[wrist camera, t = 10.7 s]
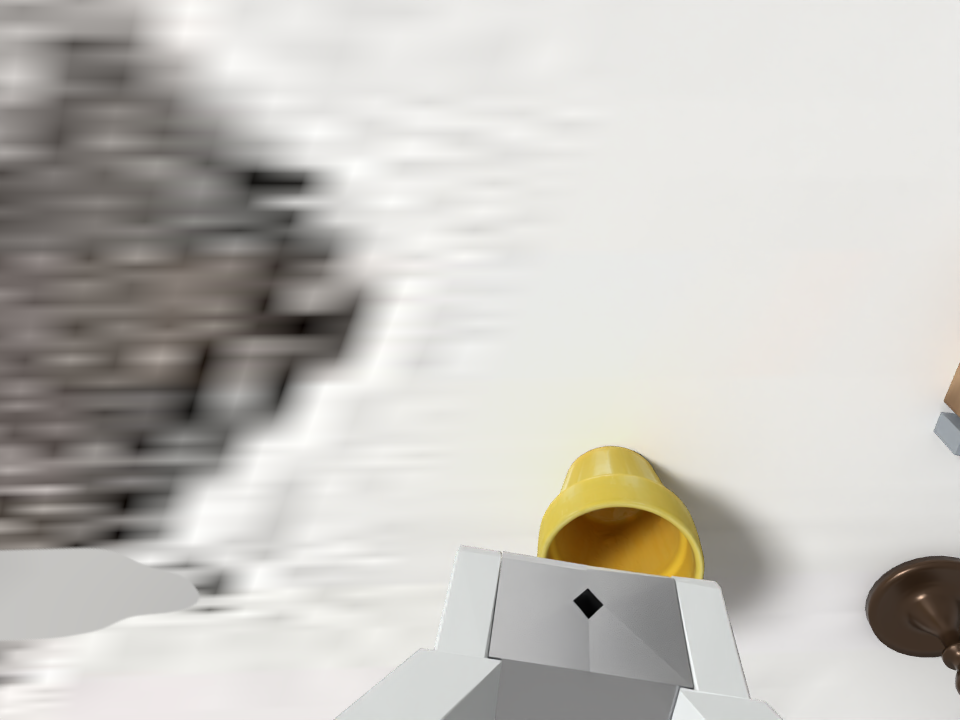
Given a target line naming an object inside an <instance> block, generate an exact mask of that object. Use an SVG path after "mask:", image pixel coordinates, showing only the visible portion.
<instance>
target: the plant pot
mask: <svg viewBox="0 0 960 720" xmlns="http://www.w3.org/2000/svg"><path fill="white" fill-rule="evenodd" d="M537 557H540V558H546V559H552V560H558V561H564V562H571V563H577V564H583V565H587V566H595V567H602V568H609V569H617V570H624V571H631V572H639V573H646V574H653V575H660V576H668V577H671V576H676V577H685V578H693V579H701V580H703V576H704V556H703V552H702V548H701V544H700V540H699V536H698V533H697V530H696V527H695V524H694V522H693V519H692V517H691V515H690V513H689V511H688V509H687V508H686V506H685V505H684V504H683V502H682V501H681V500H680V499H679V498H678V497H677V496H676V495H675V494H674V493H673V492H671V491H670V490H669V489H667V488H666V487H664V485H663V484H662V482H661V481H660V479H659V478H658V476H657V474H656V473H655V471H654V469H653V468H652V466H651V465H650V463H649V462H648V461H647V460H646V459H645V458H644V457H642V456H641V455H639V454H638V453H636V452H634V451H632V450H629V449H626V448H623V447H616V446H605V447H599V448H596V449H593V450H590V451H588V452H586V453H585V454H583V455H581V456H580V457H579V458H578V459H576V460H575V462H574V463H573V464H572V465H571V467H570V469H569V471H568V473H567V475H566V478H565V481H564V484H563V486H562V489H561V492H560V494H559V495H558V496H557V497H556V498H555V499H554V500H553V501H552V503H551V504H550V505H549V507H548V508H547V510H546V512H545V514H544V516H543V519H542V522H541V526H540V531H539V539H538V553H537Z"/></svg>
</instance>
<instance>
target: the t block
mask: <svg viewBox="0 0 960 720" xmlns="http://www.w3.org/2000/svg"><path fill="white" fill-rule="evenodd" d="M944 402H945V403H946V404H947V405H948V406H949V407H950V408H951V409H952V410H953V411H954V412H955V413H956V414H957V415H958V416H959V417H960V363H959V366H958V368H957V371H956V373H955V375H954V378H953V380H952V382H951V385H950V387H949V390H948V392H947V394H946V397H945V399H944Z"/></svg>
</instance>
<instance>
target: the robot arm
mask: <svg viewBox="0 0 960 720" xmlns="http://www.w3.org/2000/svg"><path fill="white" fill-rule="evenodd" d="M501 556H502V553H501V552H500V551H494V550H488V549H482V548H476V547H469V546H463V545H460V547H459V549H458V551H457V553H456V556H455V560H454V565H453V569H452V573H451V578H450V582H449V586H448V591H447V595H446V599H445V604H444V608H443V612H442V617H441V621H440V625H439V630H438V634H437V638H436V643H435V647H434V650H430V649H423V648H420V649H419V650H418V651H417V652H415V653H414V654H413V655H412V656H410V657H409V658H408V659H407V660H406V661H404V662H403V663H402V664H401V665H399V666H398V667H397V668H396V669H395V670H393V671H392V672H391V673H390V674H388V675H387V676H386V677H385V678H384V679H382V680H381V681H380V682H379V683H378V684H376V685H375V686H374V687H373V688H371V689H370V690H369V691H368V692H367V693H365V694H364V695H363V696H362V697H360V698H359V699H358V700H357V701H356V702H354V703H353V704H352V705H351V706H349V707H348V708H347V709H346V710H345V711H343V712H342V713H341V714H340V715H338V716H337V717H336V718H335V719H334V720H783V719H782V718H781V717H780V716H779V715H778V714H777V713H776V712H775V711H774V710H773V709H772V708H771V707H770V706H769V705H768V704H767V703H766V702H765V701H760V700H754V699H751V697H750V694H749V690H748V686H747V683H746V679H745V675H744V671H743V668H742V664H741V660H740V656H739V653H738V649H737V645H736V642H735V638H734V634H733V630H732V627H731V623H730V619H729V616H728V612H727V608H726V604H725V601H724V597H723V593H722V590H721V587H720V586H719V585H718V584H717V582H716V581H710V580H701V579H693V578H685V577H676V576H671V577H668V576H660V575H653V574H646V573H639V572H631V571H624V570H617V569H609V568H602V567H595V566H587V565H583V564H577V563H571V562H564V561H558V560H552V559H546V558H540V557H534V556H528V555H522V554H516V553H510V552H504V551H503V556H502V562H501ZM500 567H501V569H500Z"/></svg>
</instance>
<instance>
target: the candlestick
mask: <svg viewBox="0 0 960 720" xmlns="http://www.w3.org/2000/svg"><path fill="white" fill-rule="evenodd" d="M865 610H866V616H867V619H868V621H869V624H870V626H871V628H872V630H873V632H874V634H875V635H876V636H877V638H878V639H879V640H880V641H881V642H882V643H883V644H885V645H886V646H887V647H889V648H891V649H893V650H895V651H897V652H899V653H902V654H906V655H909V656H916V657H939V656H942V660H943V662H944V663H945V665H946V666H947V667H949V668H950V669H953V670H957V673H956V678H955V685H956V689H957V691H958V693H959V694H960V559H959V558H955V557H947V556H929V557H923V558H917V559H914V560H911V561H908V562H904V563H902V564H900V565H898V566H896V567H894V568H892V569H891V570H889V571H888V572H887V573H885V574H884V575H883V576H882V577H881V578H880V579H879V580H877V581H876V582H875V584H874V585H873V587H872V588H871V590H870V591H869V594H868V597H867V599H866V607H865Z"/></svg>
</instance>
